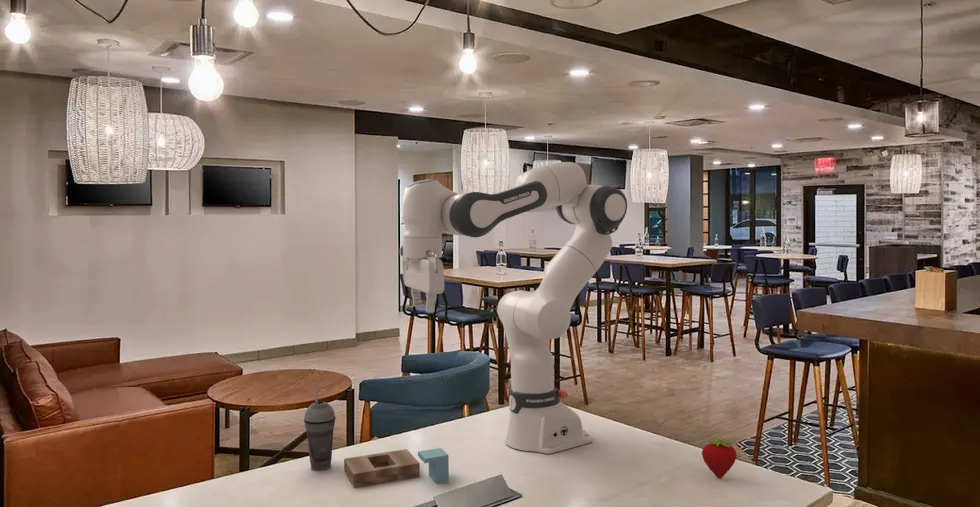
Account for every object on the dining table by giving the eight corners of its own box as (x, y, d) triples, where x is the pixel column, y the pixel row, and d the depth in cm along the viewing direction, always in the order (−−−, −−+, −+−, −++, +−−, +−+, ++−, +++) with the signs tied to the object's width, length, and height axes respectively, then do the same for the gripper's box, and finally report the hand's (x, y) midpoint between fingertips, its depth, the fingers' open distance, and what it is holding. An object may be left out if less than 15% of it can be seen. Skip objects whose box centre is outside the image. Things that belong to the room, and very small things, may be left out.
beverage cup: (328, 474, 151) (326, 388, 150) (299, 471, 153) (297, 386, 152) (341, 462, 158) (340, 380, 157) (313, 460, 160) (311, 378, 159)
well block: (406, 461, 159) (406, 449, 159) (419, 476, 150) (419, 463, 150) (344, 471, 153) (344, 458, 153) (353, 487, 144) (353, 474, 144)
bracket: (441, 473, 151) (440, 447, 151) (448, 481, 147) (448, 455, 146) (418, 477, 149) (417, 451, 149) (425, 485, 144) (424, 458, 144)
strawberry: (697, 472, 150) (698, 429, 150) (730, 472, 151) (730, 429, 150) (706, 483, 144) (707, 438, 144) (740, 482, 145) (741, 437, 144)
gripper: (451, 251, 144) (451, 314, 145) (422, 247, 163) (423, 303, 164) (423, 252, 142) (424, 316, 142) (397, 248, 160) (398, 305, 161)
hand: (423, 309), depth 153 cm, fingers open, 8 cm apart
